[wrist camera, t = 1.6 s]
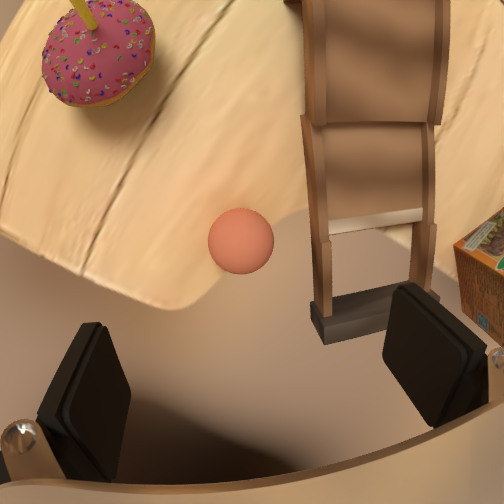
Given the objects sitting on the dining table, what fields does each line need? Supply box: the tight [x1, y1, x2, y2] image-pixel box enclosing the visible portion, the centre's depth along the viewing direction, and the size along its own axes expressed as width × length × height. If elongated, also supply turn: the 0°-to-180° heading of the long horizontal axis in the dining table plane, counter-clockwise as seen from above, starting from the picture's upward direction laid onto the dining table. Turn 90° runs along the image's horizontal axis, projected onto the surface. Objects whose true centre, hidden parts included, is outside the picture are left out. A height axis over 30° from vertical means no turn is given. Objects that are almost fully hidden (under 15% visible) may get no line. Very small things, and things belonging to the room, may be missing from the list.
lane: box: [283, 0, 450, 345], centre depth 21 cm, size 32×12×8 cm, turn 7°
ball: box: [208, 208, 274, 274], centre depth 24 cm, size 5×5×5 cm
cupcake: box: [42, 0, 155, 107], centre depth 15 cm, size 9×8×12 cm
